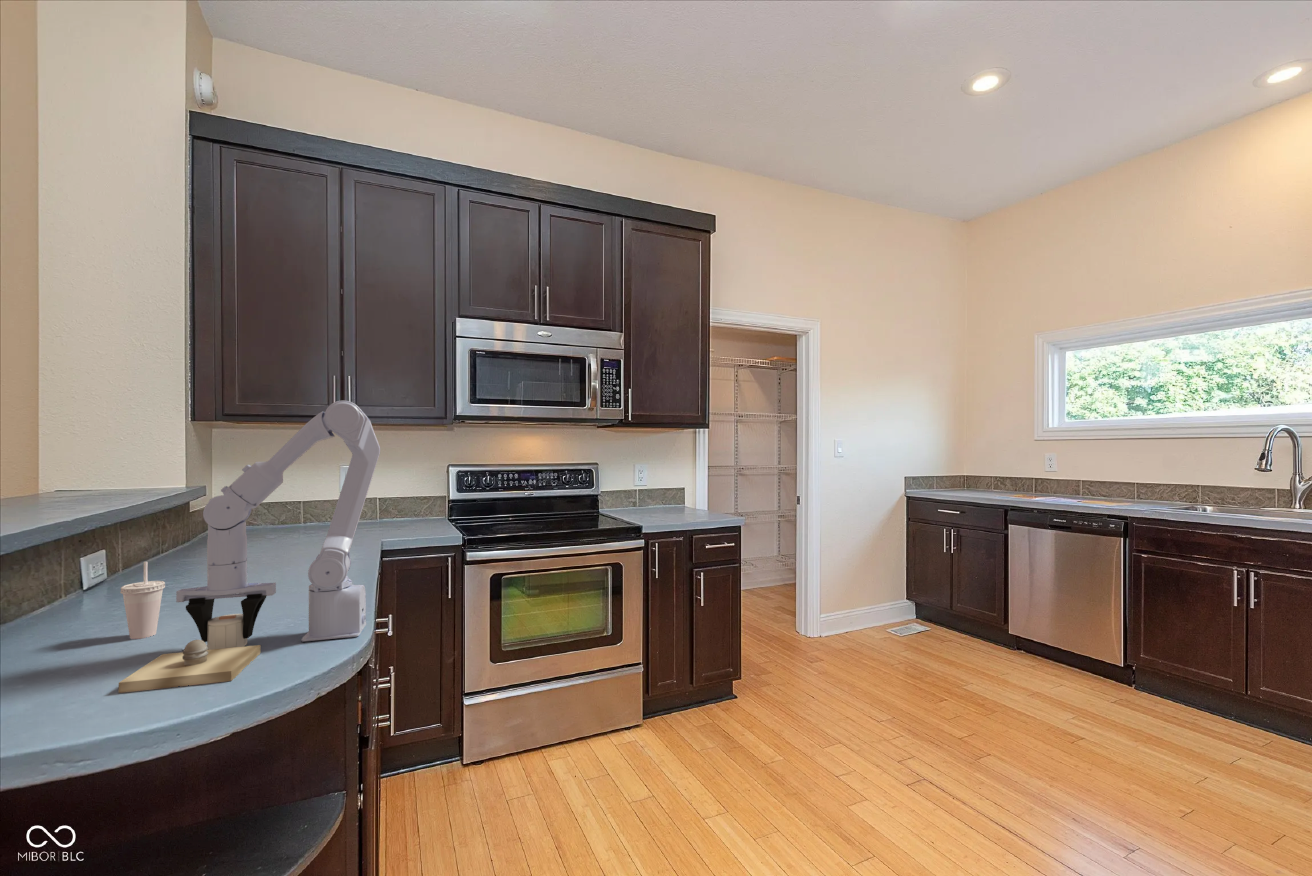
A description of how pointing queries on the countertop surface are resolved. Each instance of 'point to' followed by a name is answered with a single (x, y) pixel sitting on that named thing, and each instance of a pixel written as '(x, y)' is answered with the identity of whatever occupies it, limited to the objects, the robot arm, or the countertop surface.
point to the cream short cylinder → (225, 632)
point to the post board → (191, 667)
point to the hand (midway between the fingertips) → (227, 638)
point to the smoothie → (142, 606)
